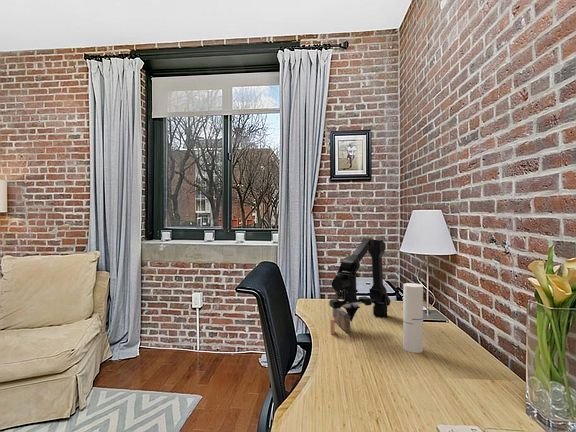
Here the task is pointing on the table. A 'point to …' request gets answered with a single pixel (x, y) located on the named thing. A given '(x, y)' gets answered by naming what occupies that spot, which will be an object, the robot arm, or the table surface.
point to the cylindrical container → (413, 317)
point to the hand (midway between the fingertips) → (350, 321)
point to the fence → (332, 323)
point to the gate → (342, 319)
